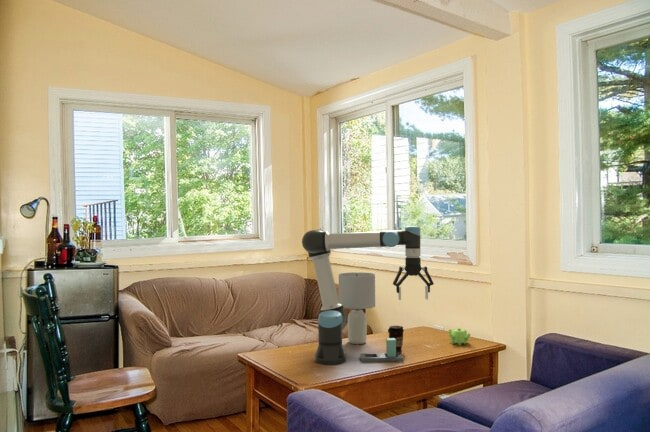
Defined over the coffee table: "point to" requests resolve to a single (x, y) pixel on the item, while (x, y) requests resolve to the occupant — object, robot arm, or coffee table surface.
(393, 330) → the coffee cup
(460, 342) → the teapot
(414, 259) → the robot arm
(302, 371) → the coffee table surface
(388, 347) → the teal brick
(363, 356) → the grey flat frame
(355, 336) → the lamp
